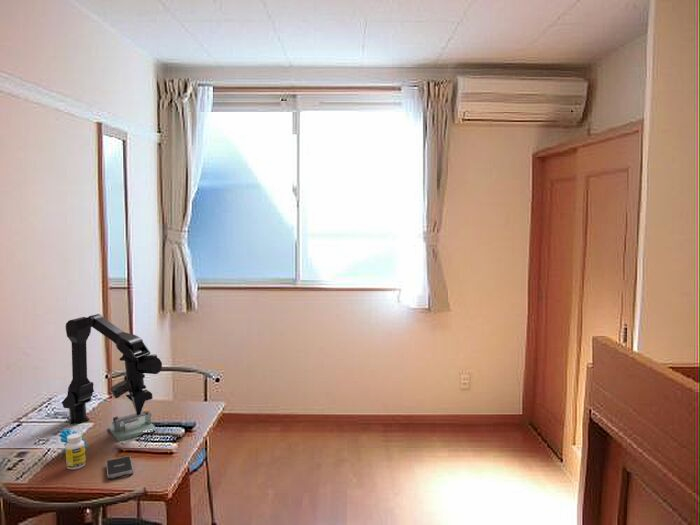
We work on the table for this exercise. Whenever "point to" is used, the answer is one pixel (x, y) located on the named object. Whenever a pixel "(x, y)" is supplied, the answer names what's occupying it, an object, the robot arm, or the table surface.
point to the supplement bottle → (75, 451)
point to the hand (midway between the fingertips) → (138, 414)
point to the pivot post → (116, 424)
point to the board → (132, 433)
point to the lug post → (148, 418)
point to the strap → (133, 416)
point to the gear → (64, 435)
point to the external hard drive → (119, 468)
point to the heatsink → (130, 424)
